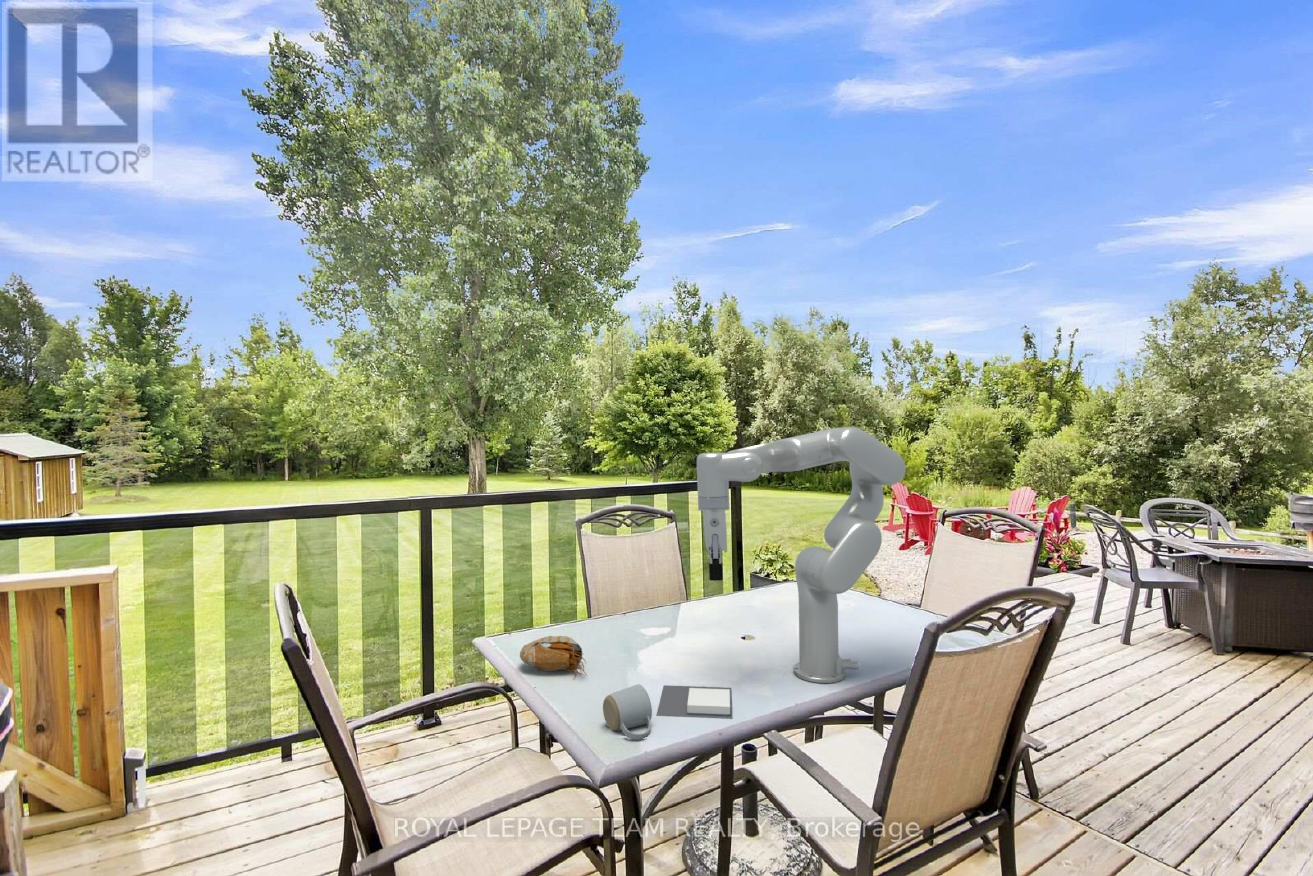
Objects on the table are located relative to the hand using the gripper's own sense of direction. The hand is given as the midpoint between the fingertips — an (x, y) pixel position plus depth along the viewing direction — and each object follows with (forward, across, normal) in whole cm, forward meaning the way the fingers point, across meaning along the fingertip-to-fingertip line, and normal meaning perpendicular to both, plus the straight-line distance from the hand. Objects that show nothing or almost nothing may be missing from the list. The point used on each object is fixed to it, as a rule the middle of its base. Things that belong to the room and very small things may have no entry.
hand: (716, 579), depth 143 cm
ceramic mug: (+25, -24, +19) cm, 39 cm away
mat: (+25, -11, +6) cm, 28 cm away
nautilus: (+25, +6, +41) cm, 48 cm away
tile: (+24, -9, +2) cm, 25 cm away
